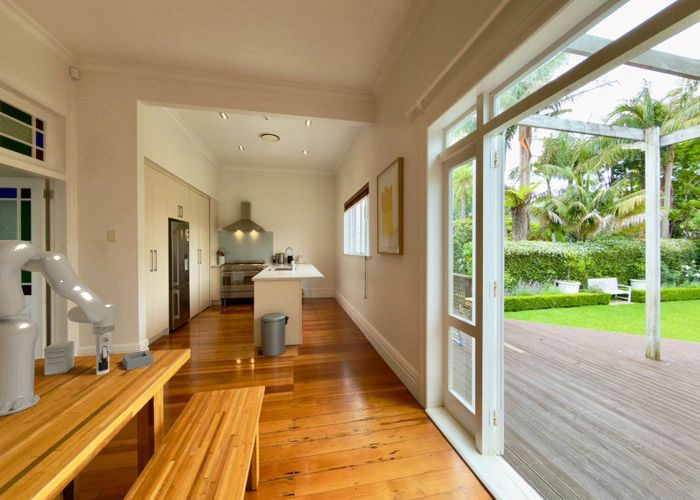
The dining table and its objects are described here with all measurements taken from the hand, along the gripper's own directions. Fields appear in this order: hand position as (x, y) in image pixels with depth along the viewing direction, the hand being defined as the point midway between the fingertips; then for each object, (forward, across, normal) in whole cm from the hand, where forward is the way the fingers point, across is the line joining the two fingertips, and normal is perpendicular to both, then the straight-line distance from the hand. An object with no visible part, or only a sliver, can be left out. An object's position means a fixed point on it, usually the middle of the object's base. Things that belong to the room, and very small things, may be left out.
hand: (102, 368), depth 122 cm
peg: (+2, 0, 0) cm, 2 cm away
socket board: (+2, 0, -13) cm, 13 cm away
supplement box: (+2, +16, +13) cm, 21 cm away
